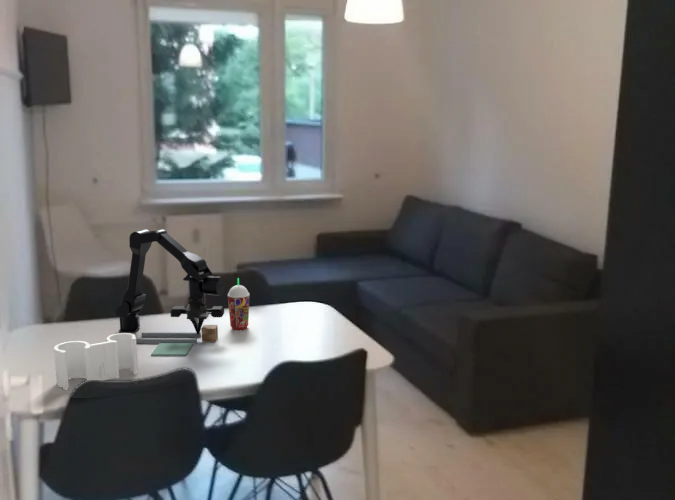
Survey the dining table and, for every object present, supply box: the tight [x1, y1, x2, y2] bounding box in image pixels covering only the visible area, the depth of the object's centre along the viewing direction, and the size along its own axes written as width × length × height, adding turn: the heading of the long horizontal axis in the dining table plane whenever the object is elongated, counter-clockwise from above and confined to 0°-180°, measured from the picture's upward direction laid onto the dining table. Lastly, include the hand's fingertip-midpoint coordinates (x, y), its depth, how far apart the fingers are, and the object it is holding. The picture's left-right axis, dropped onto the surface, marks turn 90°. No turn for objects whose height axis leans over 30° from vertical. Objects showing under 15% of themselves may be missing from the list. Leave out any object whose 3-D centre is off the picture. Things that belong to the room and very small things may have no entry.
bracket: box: [53, 332, 139, 390], centre depth 235 cm, size 25×10×12 cm, turn 125°
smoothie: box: [227, 277, 250, 332], centre depth 285 cm, size 8×8×20 cm
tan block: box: [200, 324, 219, 343], centre depth 273 cm, size 5×5×5 cm
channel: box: [136, 331, 202, 344], centre depth 274 cm, size 22×8×2 cm, turn 89°
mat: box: [150, 343, 194, 357], centre depth 262 cm, size 12×12×1 cm
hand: (198, 334), depth 273 cm, fingers closed
